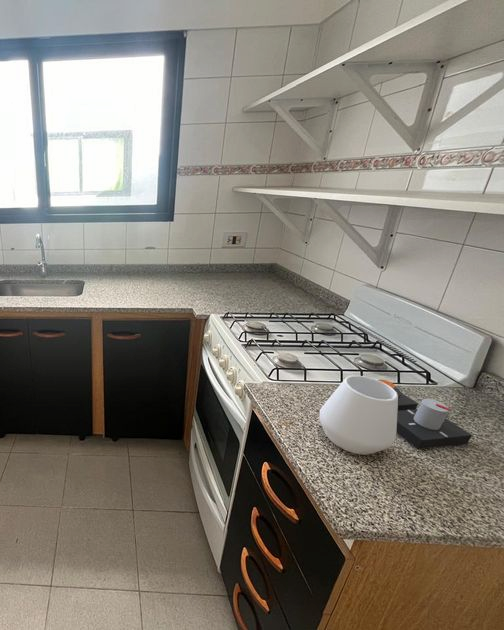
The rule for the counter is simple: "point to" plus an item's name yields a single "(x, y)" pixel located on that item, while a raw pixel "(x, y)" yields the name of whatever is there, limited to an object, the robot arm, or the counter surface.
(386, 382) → the button
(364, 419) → the cup
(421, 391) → the counter surface
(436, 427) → the timer knob
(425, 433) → the timer panel
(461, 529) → the counter surface
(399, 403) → the block
